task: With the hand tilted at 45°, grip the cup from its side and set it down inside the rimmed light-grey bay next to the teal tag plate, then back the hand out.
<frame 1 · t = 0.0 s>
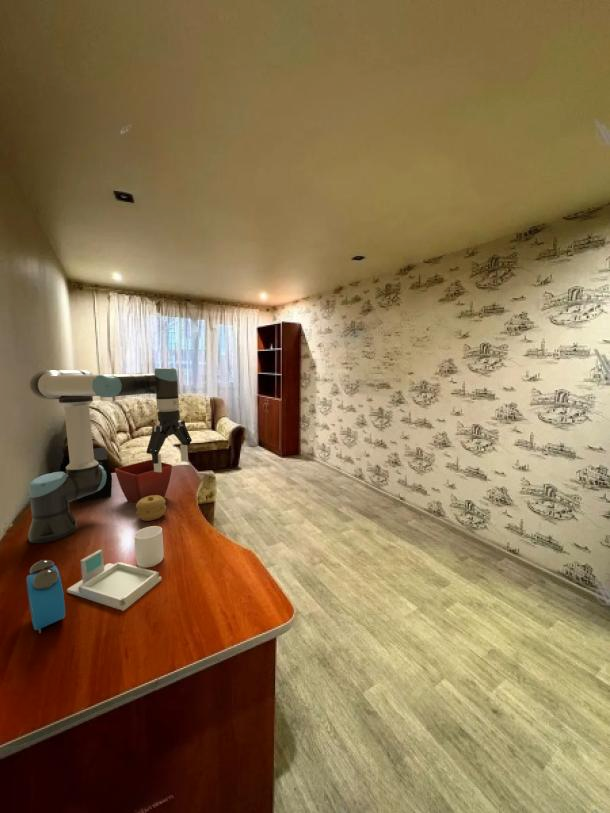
hand: (172, 466, 118), 28 cm above the table, tool pointing down, fingers open, 13 cm apart
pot: (152, 518, 138), on the table
alarm clock: (49, 621, 81), on the table
plant pot: (146, 499, 158), on the table
cup: (148, 559, 108), on the table
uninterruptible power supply: (94, 491, 171), on the table
dock: (120, 587, 93), on the table
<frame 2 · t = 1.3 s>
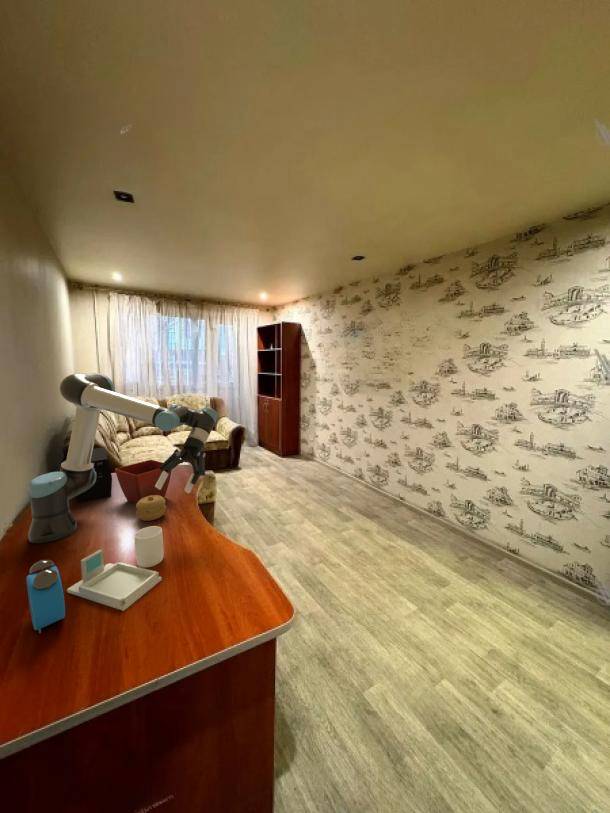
hand: (171, 490, 117), 20 cm above the table, tool tilted 45°, fingers open, 13 cm apart
nothing on the table moved.
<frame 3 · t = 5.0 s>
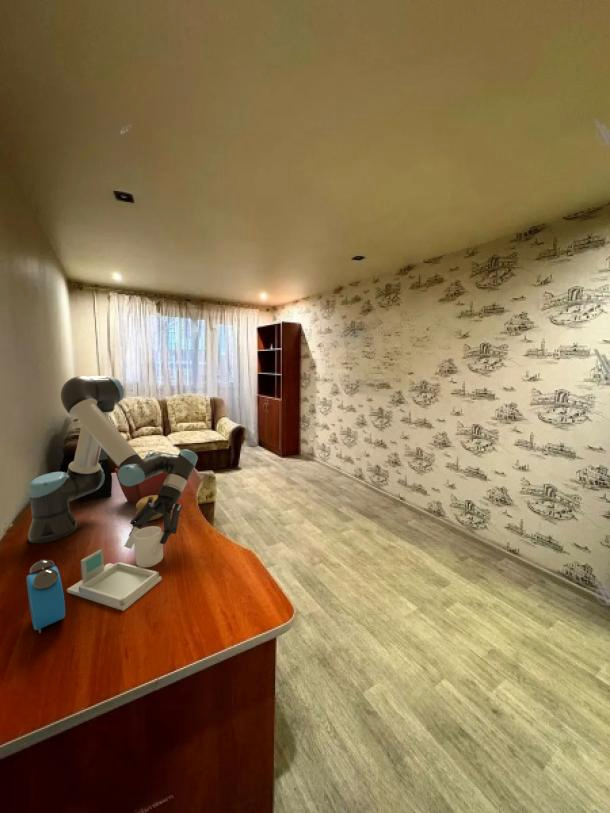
hand: (140, 550, 105), 4 cm above the table, tool tilted 45°, fingers closed on cup, 11 cm apart
cup: (148, 559, 108), on the table, touching gripper
everything else where it was.
when the fingers open (7 cm above the table, at t = 10.1 s): cup drops 1 cm, resting on dock.
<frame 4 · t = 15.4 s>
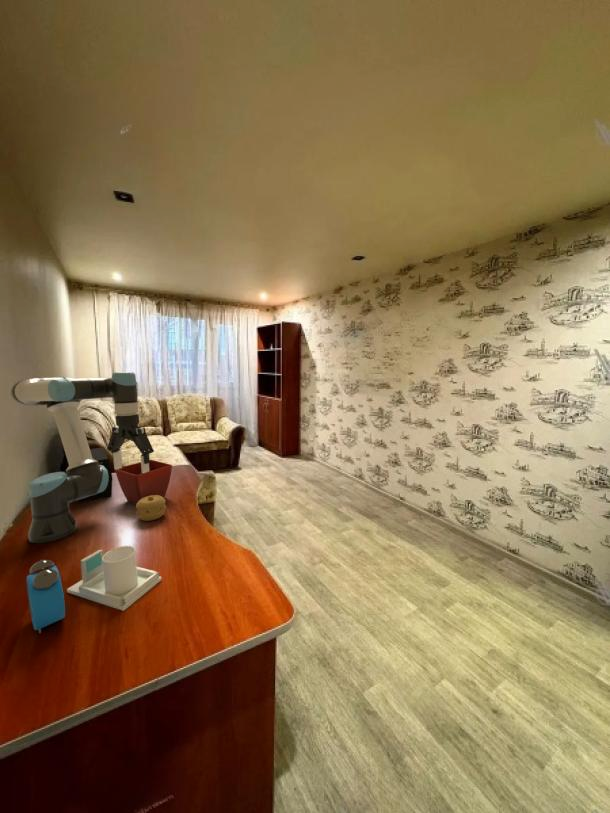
hand: (131, 470, 118), 27 cm above the table, tool pointing down, fingers open, 13 cm apart
cup: (119, 584, 93), point 1 cm above the table, touching dock
everything else where it was.
at the end: cup 0.3 cm off-centre on the dock, point 0.9 cm above the dock's base; cup tilted 0°; the gripper is holding nothing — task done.
